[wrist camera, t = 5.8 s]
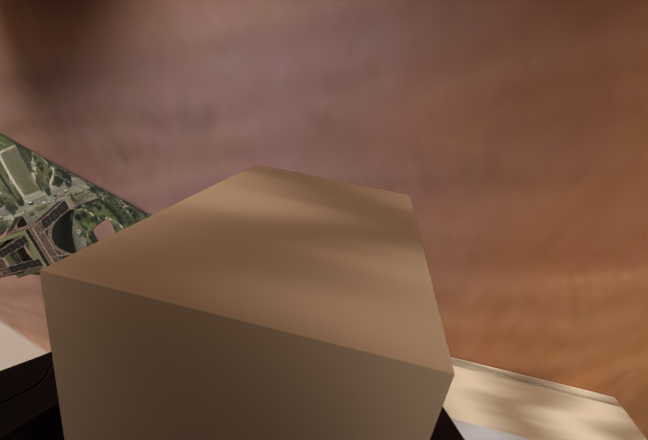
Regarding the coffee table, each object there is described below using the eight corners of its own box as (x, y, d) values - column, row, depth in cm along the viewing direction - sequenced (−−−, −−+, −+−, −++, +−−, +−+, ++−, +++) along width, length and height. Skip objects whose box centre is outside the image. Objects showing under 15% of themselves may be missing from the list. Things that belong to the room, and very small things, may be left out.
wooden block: (409, 195, 9) (455, 374, 3) (355, 403, 11) (323, 717, 5) (255, 164, 9) (40, 270, 3) (236, 371, 11) (92, 633, 6)
